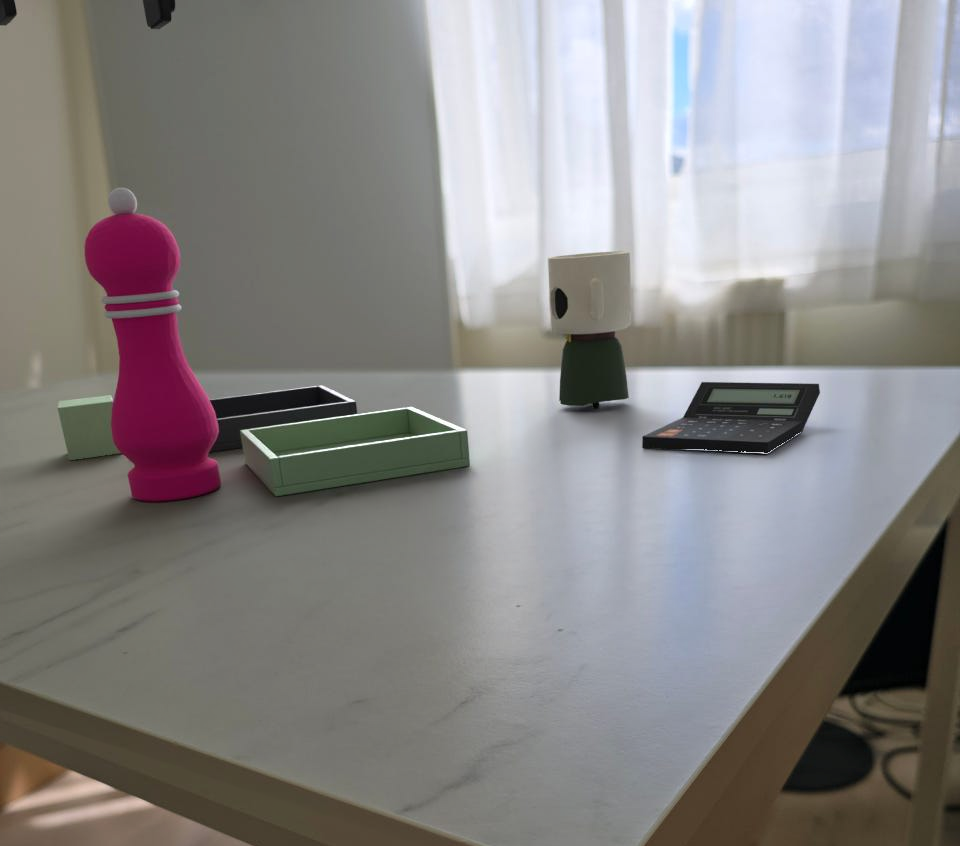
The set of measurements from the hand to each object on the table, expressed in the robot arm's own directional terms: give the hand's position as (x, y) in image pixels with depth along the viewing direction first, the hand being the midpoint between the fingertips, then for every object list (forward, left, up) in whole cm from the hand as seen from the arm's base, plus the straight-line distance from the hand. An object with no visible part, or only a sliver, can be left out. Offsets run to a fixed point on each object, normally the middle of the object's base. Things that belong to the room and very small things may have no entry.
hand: (86, 23), depth 65 cm
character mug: (+38, +5, -30) cm, 49 cm away
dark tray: (+10, +16, -30) cm, 35 cm away
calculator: (+40, -14, -30) cm, 52 cm away
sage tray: (+13, -4, -30) cm, 33 cm away
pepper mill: (0, -4, -30) cm, 30 cm away
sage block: (-5, +17, -30) cm, 35 cm away
